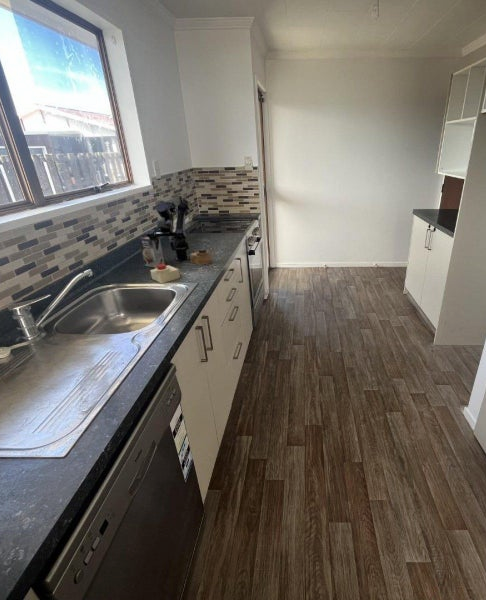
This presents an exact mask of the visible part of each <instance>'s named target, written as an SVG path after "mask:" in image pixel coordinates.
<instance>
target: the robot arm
mask: <svg viewBox="0 0 486 600" xmlns="http://www.w3.org/2000/svg"><path fill="white" fill-rule="evenodd" d="M154 208H155V210H156V212H157V213H158V215H159V217H160V218H161V220H157V221H156V228H157V229H158V231H159V232H157V231H156V230H155V229H148V230H147V231H146V233H145V235H146V236H148V238H149V239H150V240H153V241H154V243H155V246H156V249H157V250H158V247H159V239H158V237H159V238H160V237H170V240H169V245H170V248H171V251H175V254H176V257H175V258H174V260H176V261H178V262H184V261H187V260H191V259H190V257H189V256H188V254H187V251H188V250H190V246H189V243H188V241H187V233H186V231H185V227H186V218H187V217H188V215H190V210H191V204H190V202H189V201H188V200H187V199H186V198H184V197H183V196H182V195H174V196H172V198H170V200H168V201H165V200H160V201H159V202H158V203H157V204H156V205H155V207H154ZM175 214H177V215H176V219H175ZM175 221H176V223H175V224H174V222H175ZM174 225H175V226H174ZM174 230H175V231H174Z"/></svg>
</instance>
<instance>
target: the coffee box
mask: <svg viewBox="0 0 486 600" xmlns="http://www.w3.org/2000/svg"><path fill="white" fill-rule="evenodd" d="M158 239H159V247H158V250H157V249H156V246H155V243H154V241H153V240H150V239H149V238H148V236H147V235H146V236H141V237H139V238H138V241H139V246H140V250H141V254H142V258H143V263H144V266H145V267H150V268H154V269H155V268H157V265H159V264H165V258H164V254H163V247H162V242H161V239H160V237H158Z"/></svg>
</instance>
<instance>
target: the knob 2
mask: <svg viewBox="0 0 486 600" xmlns="http://www.w3.org/2000/svg"><path fill="white" fill-rule="evenodd" d="M206 250H207V248H203V247H202V248H199V249H198V251H199V253H205V252H206Z"/></svg>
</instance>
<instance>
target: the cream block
mask: <svg viewBox="0 0 486 600" xmlns="http://www.w3.org/2000/svg"><path fill="white" fill-rule="evenodd" d="M150 276H151V279H152V281H153V280H154V281H155V282H158V283H160V284H164V283H165V284H166V283H168V282H171V281H175V280H177V279H178V280H179V279H180V278H181V275H180V269H179V268H177V267H174V266H171V265H166V269H164V270H158V269H157V268H154V269H150Z"/></svg>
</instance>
